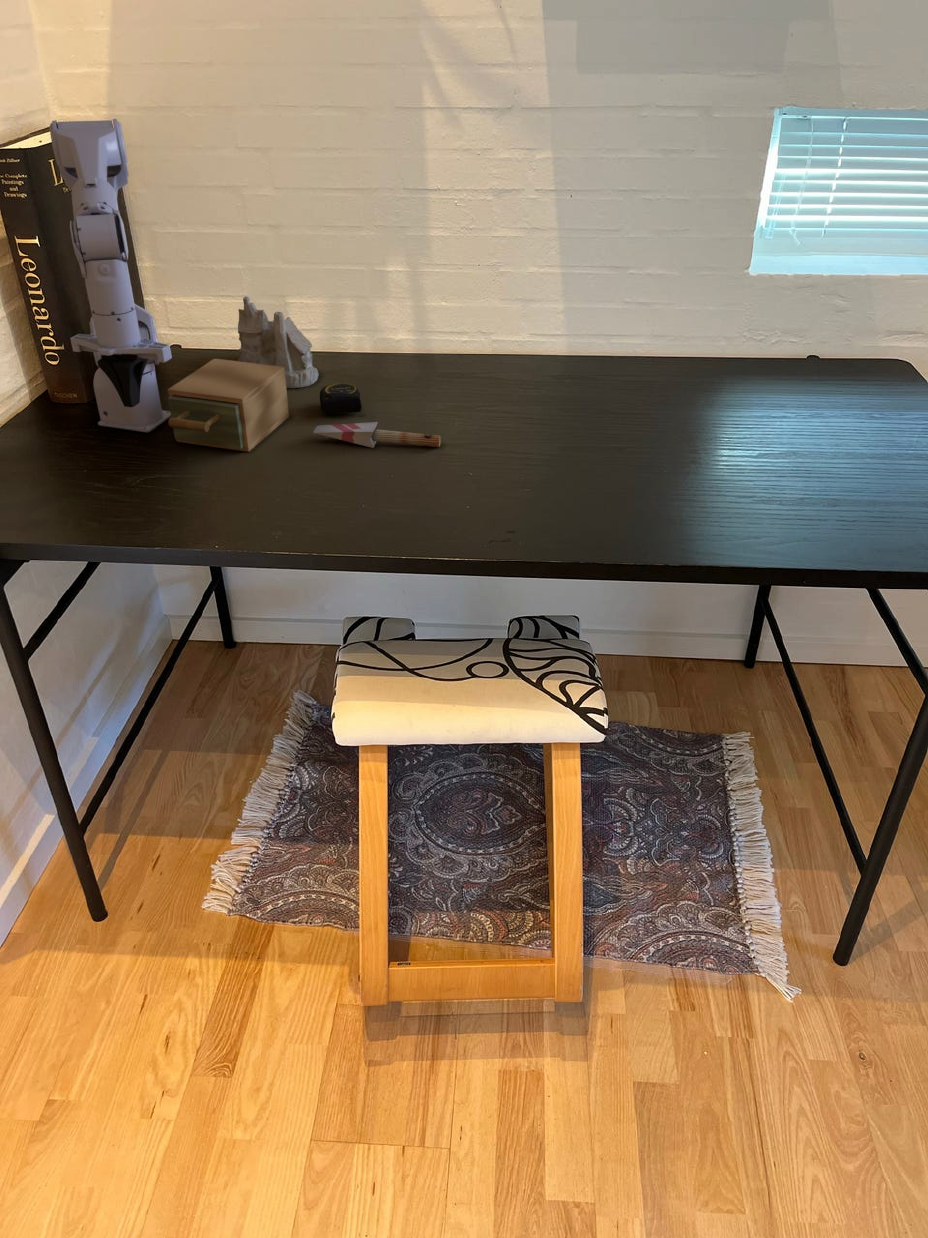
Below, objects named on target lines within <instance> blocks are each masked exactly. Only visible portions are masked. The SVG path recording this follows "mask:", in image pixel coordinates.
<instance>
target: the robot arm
mask: <svg viewBox="0 0 928 1238" xmlns="http://www.w3.org/2000/svg"><path fill="white" fill-rule="evenodd" d="M49 134H50V140H51V147H52V150H53V155H54V158H55V162H56V164H57V165H56V166H58V169H59V172H60V175H61V179H62V180H64V184H65V186H66V187H68V188H70V189H71V204H72V213H73V220H70V221H69V231H70V237H71V242H72V246H73V251H74V255H75V257H76V260H77V262H78V265H79V268H80V273H81V276H82V278H83V279H84V284H85V289H86V293H87V297H88V298H87V299H88V302H89V303H88V304H89V308H90V314H91V317H90V321H89V324H88V325H89V329H90V334H86V333H85V334H84V333H77V334H76V335H73V336H72V337H70V338H69V339H70V345H71V348H72V352H74V353H75V352H76V353H81V352H83V351H84V352H90V353H93V357H94V361H95V365H96V366H97V369H96V371H95V373H94V376H93V383H92V384H93V392H94V396H95V399H96V400H95V401H96V405H97V410H98V414H99V415H98V416H99V419H100V420H99V421H98V422H97V424H98V426H99V427H107V428H112V429H113V428H114V429H119V430H126V431H127V430H128V431H135V432H142V433H150V432H152V431H153V430H154V429H156V428H157V427H159V426H160V425H162V424H163V423H165V422H166V421H167V420H169V419H170V418H171V413H170V410H163V408H162V403H161V398H160V397H161V396H160V392H159V385H158V380H157V375H156V367H155V366H158V365H160V363H166V362H168V361H170V360H171V359H172V358H173V356H172V355H173V354H172V350H171V345H170V344H168V343H162V342H159V339H158V331H157V327H156V326H155V320H154V316H152V314H151V312H149V311H148V310H146V309H144V308H143V307H142V306H139V305H138V304H137V303H135V299H134V294H133V287H132V283H131V277H130V272H129V266H128V260H129V248H128V241H127V236H126V230H125V224H124V221H123V219H122V217H121V213H120V210H119V203H118V193H119V192H118V191H119V190H120V189H121V188H123V187H125V186H126V185H128V184H129V178H128V177H129V176H130V173H129V167H128V157H127V151H126V146H125V145H126V144H125V139H124V132H123V128H122V124H121V122H120V121H119V120H118V119H117V118H112V120H111V119H110V120H108V119H107V120H73V121H70V120H69V121H66V120H65V121H57V120H52V121H51V123H50V124H49Z"/></svg>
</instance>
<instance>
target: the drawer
mask: <svg viewBox="0 0 928 1238" xmlns="http://www.w3.org/2000/svg"><path fill="white" fill-rule="evenodd" d="M167 402H168V407H169V411H170V413H171V417H170V418H169V419H168V426H169V427H170V428H172V429H173V430H172V431H173V436H174V440H175V441H177V440H181V441H188V442H195V443H201V444H208V445H215V446H222V447H229V448H236V449H242V448H243V447H244V438H243V431H242V423H241V415H240V407H239V403H235V404H231V403H224V402H216V401H209V399H201V398H194V397H186V396H181V397H178V396H171V397H169V396H168V398H167Z"/></svg>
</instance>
